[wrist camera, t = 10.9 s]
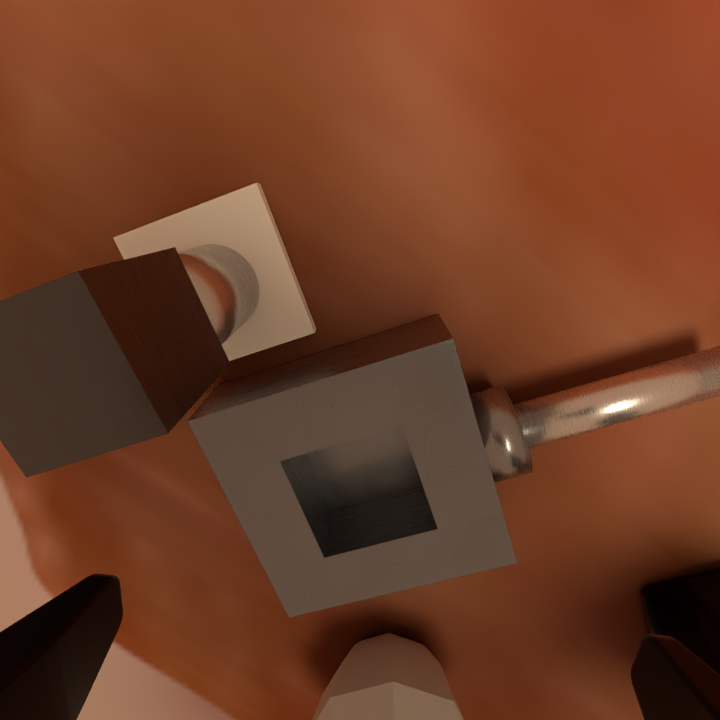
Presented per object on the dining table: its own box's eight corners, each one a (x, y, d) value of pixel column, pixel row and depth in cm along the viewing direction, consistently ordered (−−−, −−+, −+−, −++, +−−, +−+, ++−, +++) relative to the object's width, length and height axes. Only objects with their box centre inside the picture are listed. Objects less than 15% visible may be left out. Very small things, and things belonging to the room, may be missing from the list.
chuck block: (714, 450, 20) (784, 501, 17) (301, 557, 23) (288, 619, 19) (693, 232, 17) (773, 239, 14) (218, 384, 20) (186, 422, 16)
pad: (316, 329, 19) (314, 332, 18) (188, 371, 19) (182, 376, 19) (260, 183, 17) (256, 182, 16) (121, 236, 18) (112, 237, 17)
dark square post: (272, 314, 18) (168, 433, 9) (197, 340, 18) (26, 476, 9) (237, 231, 17) (78, 271, 8) (158, 261, 17) (-77, 330, 8)
